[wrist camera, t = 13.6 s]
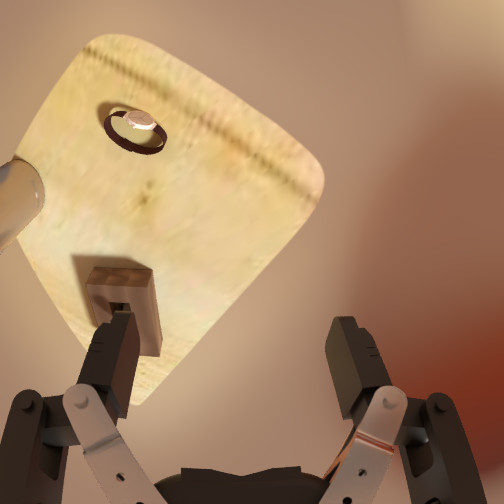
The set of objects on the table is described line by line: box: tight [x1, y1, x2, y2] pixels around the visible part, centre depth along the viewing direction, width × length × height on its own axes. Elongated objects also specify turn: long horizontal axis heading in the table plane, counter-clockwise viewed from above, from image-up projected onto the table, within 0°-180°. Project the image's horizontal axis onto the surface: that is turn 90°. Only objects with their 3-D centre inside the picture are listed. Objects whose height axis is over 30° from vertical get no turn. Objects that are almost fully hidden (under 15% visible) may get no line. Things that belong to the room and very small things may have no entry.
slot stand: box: [86, 267, 163, 357], centre depth 46 cm, size 9×15×4 cm, turn 176°
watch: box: [104, 111, 167, 155], centre depth 33 cm, size 8×5×4 cm, turn 61°
